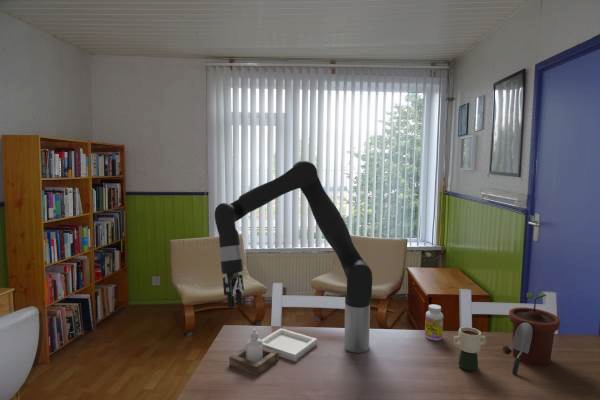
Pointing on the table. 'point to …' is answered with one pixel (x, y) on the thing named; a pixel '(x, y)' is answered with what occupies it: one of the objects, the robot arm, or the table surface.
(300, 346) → the tray
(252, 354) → the eye dropper bottle
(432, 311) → the supplement bottle
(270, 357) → the walnut holder
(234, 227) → the robot arm
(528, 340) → the potted plant
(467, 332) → the character mug
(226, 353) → the table surface
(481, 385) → the table surface
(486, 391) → the table surface
